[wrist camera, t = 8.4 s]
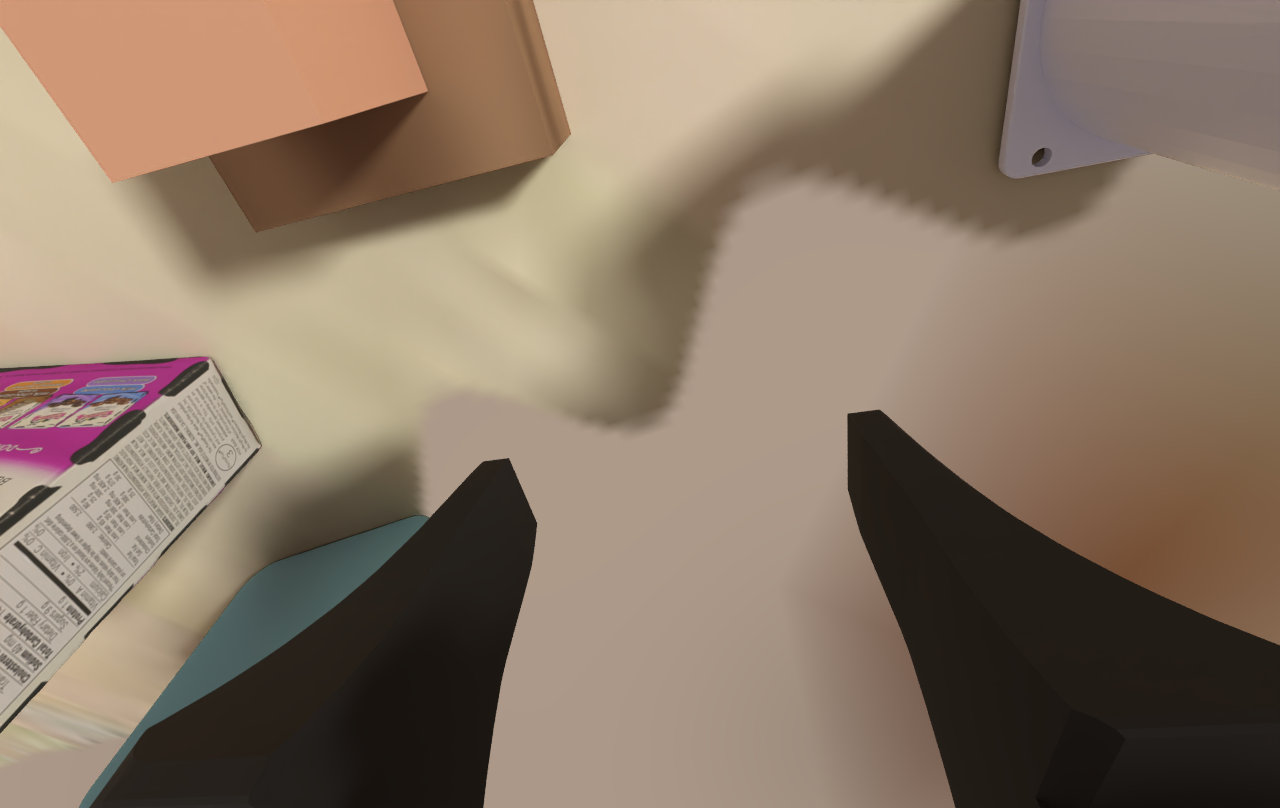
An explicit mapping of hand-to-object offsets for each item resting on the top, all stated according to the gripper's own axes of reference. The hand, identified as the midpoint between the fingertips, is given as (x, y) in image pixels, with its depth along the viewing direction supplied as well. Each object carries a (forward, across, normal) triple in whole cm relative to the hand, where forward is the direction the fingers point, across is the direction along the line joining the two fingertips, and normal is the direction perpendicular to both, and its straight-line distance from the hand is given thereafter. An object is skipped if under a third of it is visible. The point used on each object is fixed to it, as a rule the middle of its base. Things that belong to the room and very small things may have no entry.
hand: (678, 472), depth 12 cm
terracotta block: (+6, +7, -10) cm, 14 cm away
